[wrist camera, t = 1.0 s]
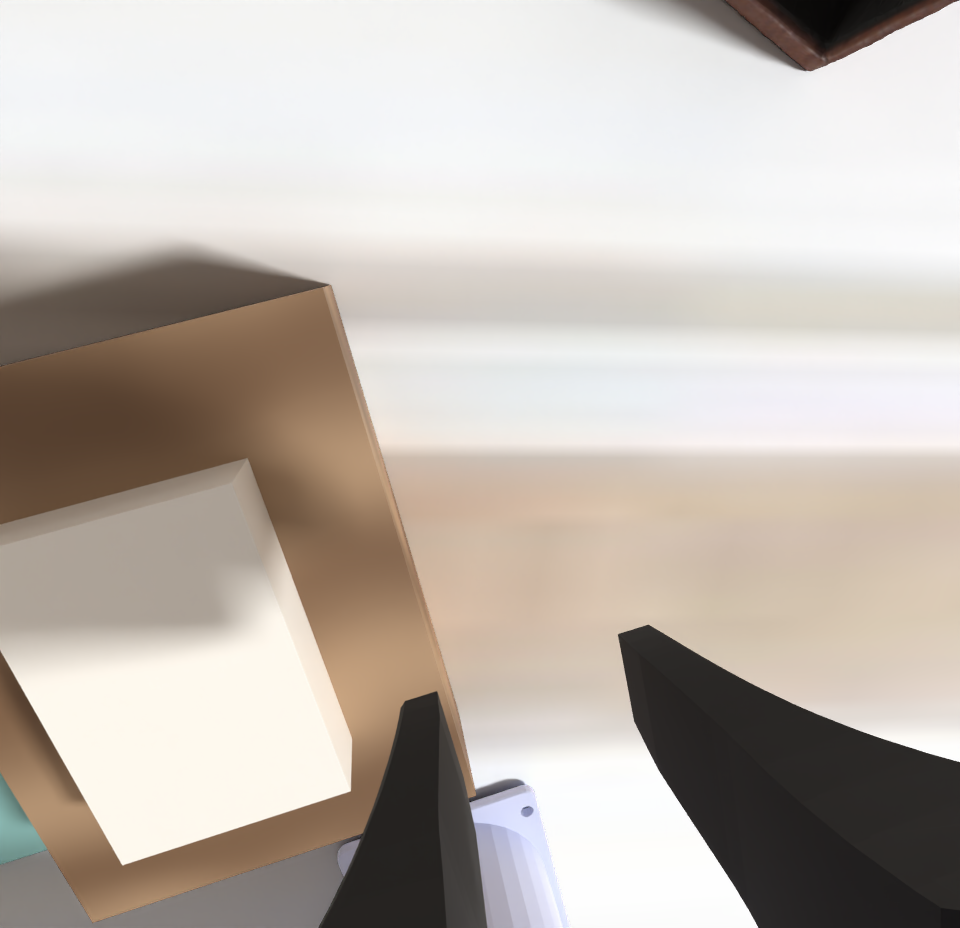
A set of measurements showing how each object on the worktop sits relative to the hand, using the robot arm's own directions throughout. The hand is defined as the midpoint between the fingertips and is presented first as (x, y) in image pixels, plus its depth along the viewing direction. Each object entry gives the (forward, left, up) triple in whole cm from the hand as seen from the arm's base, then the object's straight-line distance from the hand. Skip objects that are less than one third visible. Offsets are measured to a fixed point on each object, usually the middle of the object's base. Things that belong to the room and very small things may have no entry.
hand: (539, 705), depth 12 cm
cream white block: (0, +8, -6) cm, 10 cm away
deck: (0, +8, -10) cm, 13 cm away
